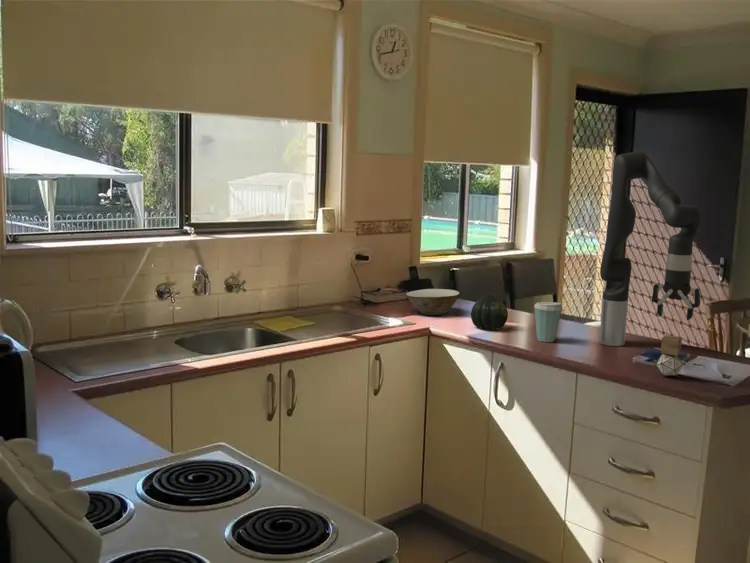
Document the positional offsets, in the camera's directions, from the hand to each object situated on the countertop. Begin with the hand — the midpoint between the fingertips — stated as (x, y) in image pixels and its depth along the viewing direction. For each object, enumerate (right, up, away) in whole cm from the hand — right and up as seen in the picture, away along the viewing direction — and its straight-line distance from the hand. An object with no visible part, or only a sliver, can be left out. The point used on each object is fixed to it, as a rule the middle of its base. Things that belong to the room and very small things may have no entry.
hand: (674, 317), depth 238 cm
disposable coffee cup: (-30, -11, +48) cm, 58 cm away
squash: (-49, -8, +67) cm, 84 cm away
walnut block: (0, -11, +2) cm, 12 cm away
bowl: (-71, -3, +94) cm, 118 cm away
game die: (-1, -19, +3) cm, 20 cm away
